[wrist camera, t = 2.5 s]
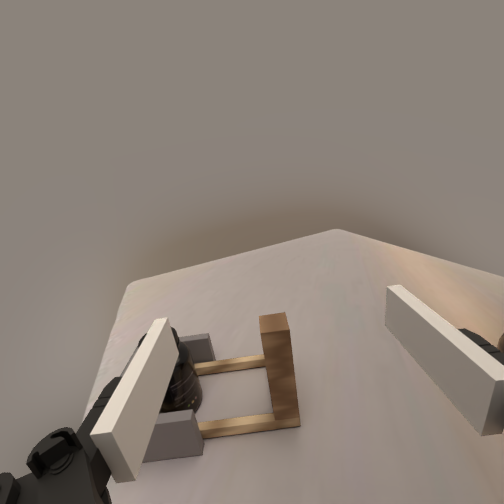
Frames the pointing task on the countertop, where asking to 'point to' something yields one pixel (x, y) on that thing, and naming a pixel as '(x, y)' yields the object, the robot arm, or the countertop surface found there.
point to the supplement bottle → (181, 381)
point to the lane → (179, 415)
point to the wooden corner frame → (279, 380)
